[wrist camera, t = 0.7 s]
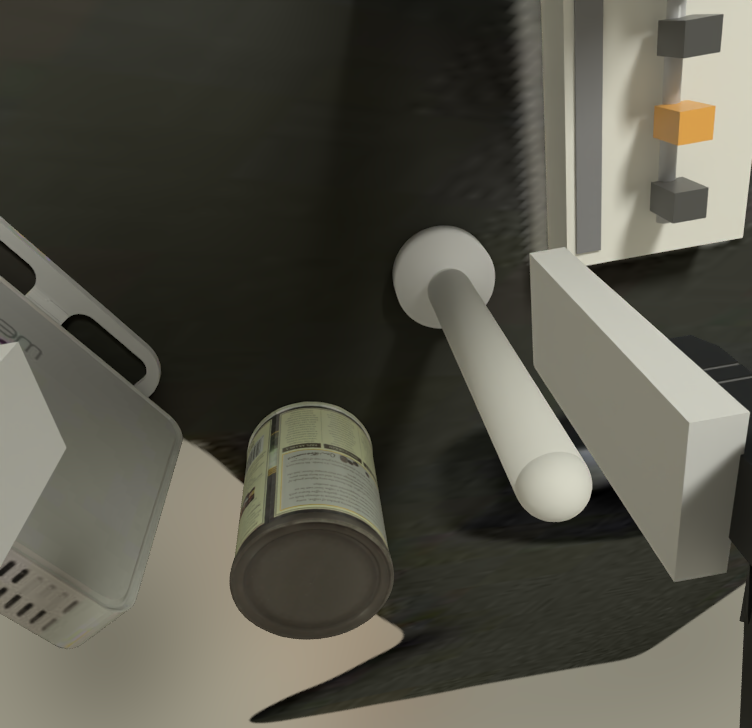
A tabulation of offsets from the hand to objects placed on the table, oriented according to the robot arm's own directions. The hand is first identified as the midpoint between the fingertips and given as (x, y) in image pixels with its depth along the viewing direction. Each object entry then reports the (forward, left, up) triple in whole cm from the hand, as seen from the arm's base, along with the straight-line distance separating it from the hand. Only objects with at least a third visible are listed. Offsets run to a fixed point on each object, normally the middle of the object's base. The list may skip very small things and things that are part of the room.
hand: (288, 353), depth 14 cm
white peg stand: (+6, +12, -32) cm, 35 cm away
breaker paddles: (-10, +19, -27) cm, 35 cm away
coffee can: (+24, +8, -32) cm, 41 cm away
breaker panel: (-10, +19, -32) cm, 39 cm away
